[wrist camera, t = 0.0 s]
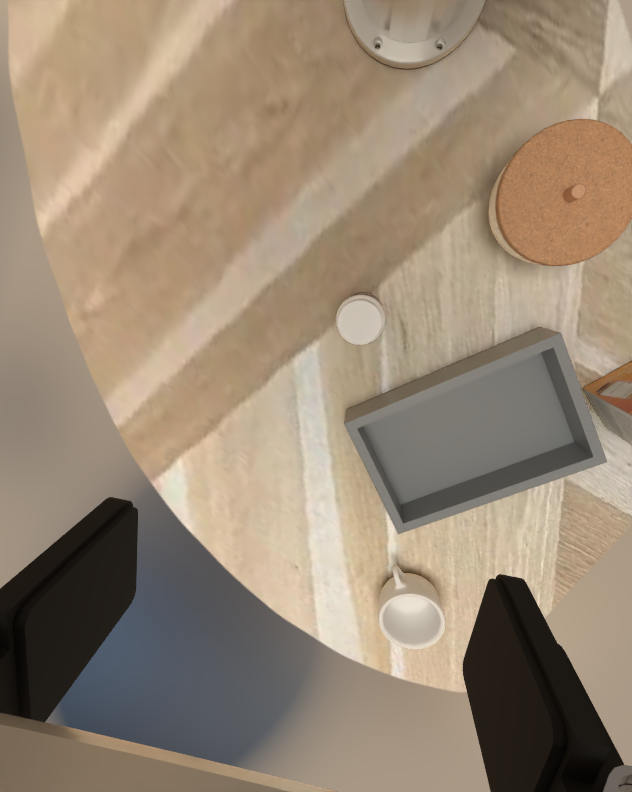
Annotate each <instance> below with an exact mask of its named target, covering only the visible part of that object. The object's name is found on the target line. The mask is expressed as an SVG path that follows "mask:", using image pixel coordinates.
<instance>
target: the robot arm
mask: <svg viewBox="0 0 632 792" xmlns="http://www.w3.org/2000/svg"><path fill="white" fill-rule="evenodd" d="M343 1H344V8H345V12H346V17H347V21H348V23H349V26H350V28H351V31H352V33H353V35H354V36H355V38H356V39H357V41H358V43H359V44H360V46H361V47H362V48H363V49H364V50H365V51H366V52H367V53H368V54H369V55H370V56H372V57H373V58H375V59H376V60H378V61H379V62H381V63H384V64H386V65H389V66H392V67H397V68H404V69H408V68H419V67H423V66H426V65H429V64H432V63H434V62H436V61H438V60H440V59H442V58H444V57H445V56H447V55H448V54H449V53H450V52H452V51H453V50H454V49H455V48H457V47H458V46H459V45H460V43H461V42H462V41H463V40H464V39H465V38H466V37H467V36H468V34H469V33H470V31H471V30H472V28H473V26H474V25H475V23H476V22H477V20H478V18H479V15H480V13H481V11H482V9H483V7H484V4H485V1H486V0H343ZM377 45H379V46H380V48H379V49H376V48H375V47H376V46H377ZM439 46H440V47H441V48H442V50H438V49H437V47H439ZM137 527H138V510H137V508H134V507H133V504H132V502H131V501H127V500H122V499H117V498H113V497H109V498H107V499H106V500H105V501H103V502H102V503H101V504H100V505H99V506H97V507H96V508H95V509H94V510H93V511H92V512H90V514H88V515H87V516H86V517H84V518H83V519H82V520H81V521H80V522H79V523H77V524H76V525H75V526H74V527H73V528H71V529H70V530H69V531H68V532H67V533H66V534H65V535H63V536H62V537H61V538H60V539H59V540H57V541H56V542H55V543H54V544H53V545H51V546H50V547H49V548H48V549H47V550H46V551H44V552H43V553H42V554H41V555H40V556H38V557H37V558H36V559H35V560H34V561H32V562H31V563H30V564H29V565H28V566H27V567H25V568H24V569H23V570H22V571H21V572H19V573H18V574H17V575H16V576H15V577H14V578H12V579H11V580H10V581H9V582H8V583H6V584H5V585H4V586H3V587H2V588H1V589H0V792H336V791H332V790H328V789H324V788H320V787H316V786H312V785H308V784H304V783H300V782H295V781H291V780H287V779H283V778H279V777H275V776H271V775H267V774H262V773H259V772H254V771H250V770H246V769H242V768H238V767H234V766H229V765H225V764H221V763H217V762H213V761H209V760H205V759H201V758H196V757H192V756H188V755H184V754H180V753H176V752H171V751H167V750H163V749H159V748H154V747H150V746H146V745H142V744H137V743H133V742H128V741H124V740H120V739H116V738H112V737H108V736H103V735H99V734H94V733H91V732H86V731H82V730H78V729H74V728H69V727H64V726H60V725H55V724H50V723H46V722H45V721H46V720H47V719H48V717H49V716H50V714H51V713H52V712H53V710H54V709H55V708H56V706H57V705H58V703H59V702H60V701H61V699H62V698H63V696H64V695H65V694H66V692H67V691H68V690H69V688H70V687H71V686H72V684H73V683H74V681H75V680H76V679H77V677H78V676H79V675H80V673H81V672H82V670H83V669H84V668H85V666H86V665H87V664H88V662H89V661H90V659H91V658H92V657H93V655H94V654H95V653H96V651H97V649H98V648H99V647H100V646H101V644H102V643H103V642H104V640H105V639H106V637H107V636H108V635H109V633H110V632H111V631H112V629H113V628H114V626H115V625H116V624H117V622H118V621H119V620H120V618H121V617H122V615H123V614H124V613H125V611H126V610H127V609H128V607H129V606H130V604H131V603H132V600H133V599H134V596H135V592H136V571H137V529H138V528H137ZM463 676H464V681H465V685H466V689H467V693H468V698H469V702H470V706H471V710H472V715H473V719H474V723H475V727H476V731H477V736H478V740H479V744H480V748H481V752H482V756H483V761H484V765H485V769H486V773H487V778H488V782H489V786H490V790H491V792H632V766H627V765H624V763H623V761H622V759H621V757H620V755H619V754H618V752H617V750H616V748H615V746H614V744H613V742H612V740H611V738H610V737H609V735H608V733H607V731H606V729H605V727H604V725H603V723H602V721H601V719H600V717H599V716H598V714H597V712H596V710H595V708H594V706H593V704H592V702H591V700H590V699H589V696H588V694H587V693H586V691H585V689H584V687H583V685H582V683H581V681H580V679H579V677H578V675H577V674H576V672H575V670H574V668H573V666H572V664H571V662H570V660H569V658H568V657H567V655H566V653H565V651H564V650H563V648H562V647H561V646H560V645H559V644H557V642H556V640H555V638H554V636H553V634H552V632H551V630H550V629H549V626H548V624H547V622H546V620H545V619H544V617H543V615H542V613H541V611H540V609H539V607H538V605H537V603H536V601H535V599H534V597H533V595H532V593H531V591H530V589H529V587H528V586H527V584H526V582H525V581H524V579H522V578H517V577H512V576H507V575H502V574H499V575H498V576H497V577H496V579H490V580H489V581H488V583H487V587H486V590H485V593H484V596H483V599H482V603H481V606H480V609H479V612H478V615H477V619H476V622H475V625H474V628H473V631H472V635H471V638H470V641H469V644H468V647H467V651H466V654H465V657H464V661H463Z"/></svg>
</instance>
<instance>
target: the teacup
mask: <svg viewBox="0 0 632 792" xmlns="http://www.w3.org/2000/svg"><path fill="white" fill-rule="evenodd" d="M392 571H393V576H394V577H392V578H391V579H389V580H388V581H387V582H386V584H385V585H384V587H383V588H382V590H381V593H380V596H379V602H378V621H379V625H380V628H381V630H382V632H383V634H384V635H385V636H386V637H387V639H389V640H390V641H391V642H392V643H394V644H396V645H398V646H400V647H403V648H406V649H423V648H426V647H429V646H431V645H433V644H434V643H436V642H437V641H438V640H439V639H440V637H441V636H442V634H443V632H444V629H445V614H444V611H443V608H442V605H441V603H440V600H439V597H438V594H437V592H436V590H435V588H434V587H433V585H432V584H431V583H430V582H429V581H427V580H426V579H425V578H423V577H421V576H419V575H416V574H412V573H403V572H402V571H401V569H400V568H399V567H398V565H397V564H394V565H392Z"/></svg>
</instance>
